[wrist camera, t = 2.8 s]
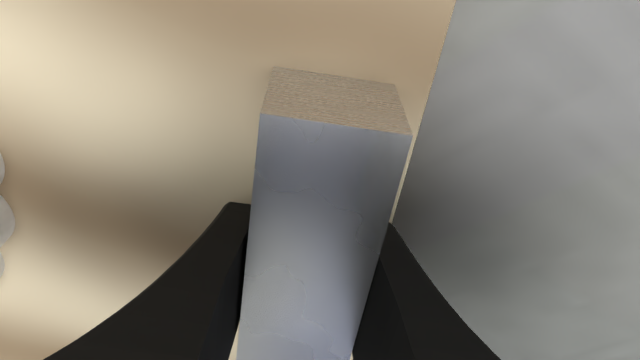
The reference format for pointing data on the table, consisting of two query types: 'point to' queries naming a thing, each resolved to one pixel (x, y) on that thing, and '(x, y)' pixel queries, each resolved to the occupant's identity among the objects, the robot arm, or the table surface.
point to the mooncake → (4, 218)
